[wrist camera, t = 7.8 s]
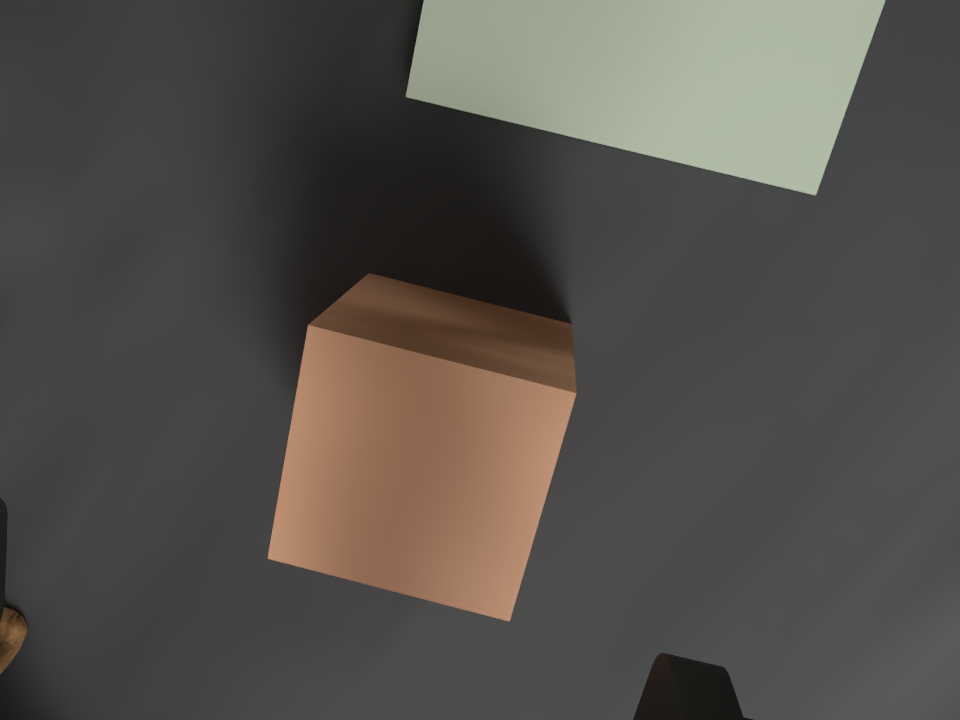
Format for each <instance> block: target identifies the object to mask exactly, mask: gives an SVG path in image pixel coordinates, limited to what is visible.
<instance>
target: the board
mask: <svg viewBox="0 0 960 720" xmlns="http://www.w3.org/2000/svg"><path fill="white" fill-rule="evenodd" d="M884 2H885V0H424V2H423V7H422V13H421V18H420V23H419V29H418V34H417V39H416V45H415V50H414V55H413V61H412V66H411V71H410V77H409V82H408V87H407V93H406V97H408V98H412V99H416V100H420V101H424V102H429V103H433V104H437V105H441V106H445V107H449V108H454V109H458V110H462V111H466V112H470V113H474V114H479V115H483V116H487V117H491V118H495V119H499V120H504V121H508V122H512V123H516V124H520V125H524V126H529V127H533V128H537V129H541V130H545V131H549V132H554V133H558V134H562V135H566V136H570V137H574V138H579V139H583V140H587V141H591V142H595V143H599V144H604V145H608V146H612V147H616V148H620V149H624V150H629V151H633V152H637V153H641V154H645V155H649V156H654V157H658V158H662V159H666V160H670V161H674V162H679V163H683V164H687V165H691V166H695V167H699V168H704V169H708V170H712V171H716V172H720V173H724V174H729V175H733V176H737V177H741V178H745V179H749V180H754V181H758V182H762V183H766V184H770V185H774V186H779V187H783V188H787V189H791V190H795V191H799V192H804V193H808V194H812V195H816V193H817V190H818V188H819V185H820V182H821V179H822V176H823V174H824V171H825V168H826V165H827V162H828V159H829V157H830V154H831V151H832V148H833V145H834V143H835V140H836V137H837V134H838V131H839V129H840V126H841V123H842V120H843V117H844V115H845V112H846V109H847V106H848V103H849V101H850V98H851V95H852V92H853V89H854V87H855V84H856V81H857V78H858V75H859V73H860V70H861V67H862V64H863V61H864V59H865V56H866V53H867V50H868V47H869V45H870V42H871V39H872V36H873V33H874V31H875V28H876V25H877V22H878V19H879V16H880V14H881V11H882V8H883V5H884Z"/></svg>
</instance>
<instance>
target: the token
mask: <svg viewBox="0 0 960 720" xmlns="http://www.w3.org/2000/svg"><path fill="white" fill-rule="evenodd" d="M575 397H576V379H575V365H574V351H573V337H572V324H569V323H565V322H561V321H557V320H553V319H549V318H546V317H542V316H538V315H534V314H530V313H526V312H522V311H518V310H514V309H510V308H506V307H502V306H498V305H494V304H490V303H486V302H482V301H478V300H474V299H470V298H466V297H462V296H458V295H454V294H450V293H447V292H443V291H439V290H435V289H431V288H427V287H423V286H419V285H415V284H411V283H407V282H403V281H399V280H395V279H391V278H387V277H383V276H379V275H375V274H371V273H368V274H367V275H366V276H365V277H364V278H363V279H361V280H360V281H359V282H358V283H357V284H356V285H354V286H353V287H352V288H351V289H350V290H348V291H347V292H346V293H345V294H344V295H343V296H341V297H340V298H339V299H338V300H337V301H336V302H334V303H333V304H332V305H331V306H330V307H329V308H327V309H326V310H325V311H324V312H323V313H322V314H320V315H319V316H318V317H317V318H316V319H314V320H313V321H312V322H311V323H310V324H309V325H308V328H307V334H306V340H305V346H304V351H303V357H302V363H301V369H300V375H299V380H298V386H297V392H296V398H295V403H294V409H293V415H292V421H291V427H290V432H289V438H288V444H287V450H286V455H285V461H284V467H283V473H282V478H281V484H280V490H279V496H278V502H277V507H276V513H275V519H274V525H273V530H272V536H271V542H270V548H269V554H268V559H271V560H275V561H279V562H283V563H287V564H290V565H294V566H298V567H302V568H306V569H310V570H313V571H317V572H321V573H325V574H329V575H333V576H337V577H340V578H344V579H348V580H352V581H356V582H360V583H363V584H367V585H371V586H375V587H379V588H383V589H387V590H390V591H394V592H398V593H402V594H406V595H410V596H414V597H417V598H421V599H425V600H429V601H433V602H437V603H440V604H444V605H448V606H452V607H456V608H460V609H464V610H467V611H471V612H475V613H479V614H483V615H487V616H490V617H494V618H498V619H502V620H506V621H510V618H511V615H512V611H513V608H514V605H515V601H516V598H517V594H518V591H519V587H520V584H521V581H522V577H523V574H524V570H525V567H526V564H527V560H528V557H529V553H530V550H531V547H532V543H533V540H534V536H535V533H536V530H537V526H538V523H539V519H540V516H541V513H542V509H543V506H544V502H545V499H546V495H547V492H548V489H549V485H550V482H551V478H552V475H553V472H554V468H555V465H556V461H557V458H558V455H559V451H560V448H561V444H562V441H563V438H564V434H565V431H566V427H567V424H568V420H569V417H570V414H571V410H572V407H573V403H574V400H575Z"/></svg>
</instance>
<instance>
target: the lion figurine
mask: <svg viewBox="0 0 960 720" xmlns="http://www.w3.org/2000/svg"><path fill="white" fill-rule="evenodd" d="M26 633H27V625H26V622H25V620H24V618H23V616H22V615H21V614H19V613H18V612H16V611H15V610H12V609H10V608H6V607H4V610H3V615H2V618H1V621H0V674H1V673H2V672H3V670H4V669H5V668H6V667H7V666H8V665H9V664H10V662H11V661H12V659H13V658H14V657H15V655H16V654H17V652H18V651H19V649H20V648H21V645H22V643H23V641H24V639H25V637H26Z"/></svg>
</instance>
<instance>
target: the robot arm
mask: <svg viewBox="0 0 960 720" xmlns="http://www.w3.org/2000/svg"><path fill="white" fill-rule="evenodd" d="M6 543H7V508H6V505H5V503H4V501H3V500H2V499H1V498H0V621H1V618H2V615H3V610H4V599H5V571H6ZM633 720H752V719H748V718H744V717H743V715H742V712H741V709H740V706H739V703H738V700H737V697H736V694H735V691H734V688H733V685H732V682H731V679H730V677H729V674H728V672H727V671H726V669H725V668H724V667H721V666H717V665H713V664H709V663H704V662H700V661H696V660H691V659H687V658H683V657H678V656H674V655H670V654H665V653H661V654H659V655H658V656H657V658H656V659H655V661H654V663H653V665H652V668H651V670H650V673H649V676H648V679H647V682H646V685H645V688H644V690H643V693H642V696H641V699H640V702H639V705H638V707H637V710H636V713H635V716H634V719H633Z"/></svg>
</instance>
